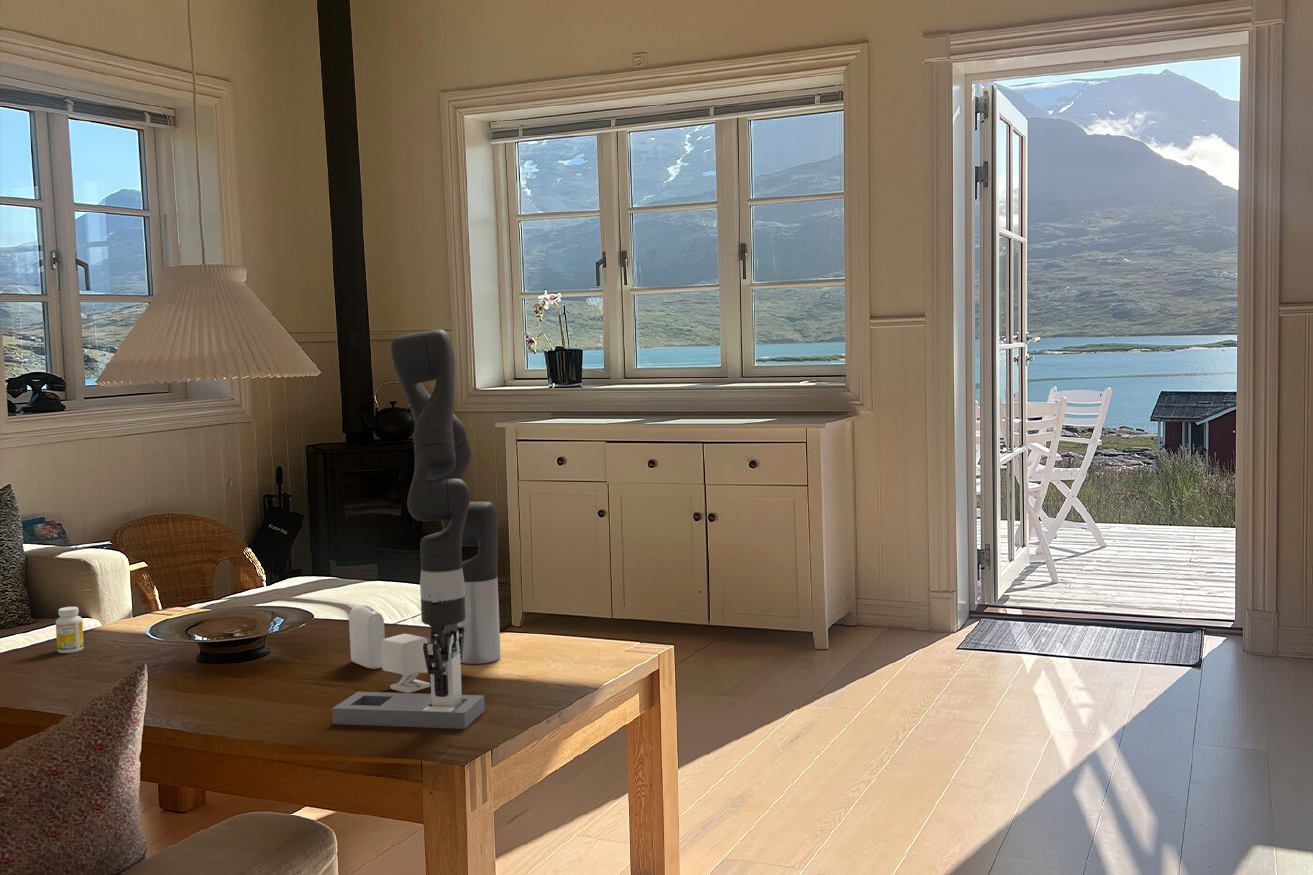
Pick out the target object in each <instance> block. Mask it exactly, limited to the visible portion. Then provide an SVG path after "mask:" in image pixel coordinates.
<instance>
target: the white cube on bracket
mask: <svg viewBox="0 0 1313 875" xmlns="http://www.w3.org/2000/svg"><path fill="white" fill-rule="evenodd" d="M424 643H429V640H428V637H424V636H419V635H413V634H410V633H402V634H397V635H393V636H391V637H386V638H385V639H383V640H382V643H381V645H382V668H381V669H382V671H384V672H389V673H393V674H394V673H395V674H398V675H401V676H402V677H401V678H400V679H399V682H396V683H393V684H390V689H391V690H395V691H397V692H400V693H414V692H416V691H420V690H424V689H427V688H431V682H427V681H424V680H421V679H417V677H418V676H419V674H420V673H421V672H424V671H427V666H426V661H425V656H424V651H423V645H424Z"/></svg>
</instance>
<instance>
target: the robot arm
mask: <svg viewBox="0 0 1313 875" xmlns="http://www.w3.org/2000/svg"><path fill="white" fill-rule="evenodd" d="M453 347H454V346H453V344H452V340H451V338H450V335H449V333H447V331H446V330H444V329H433V330H425V331H419V332H413V333H409V334H402V335H399V336H396V337H395V338H393V339H392V341H391V347H390V354H391V358H392V363H393V366H394V370H395V373H396V375H397V379H398V381H399V383H400V385H401V389H402V392H403V394H404V396H405V398H406V401H407V404H408V407H409V409H410V413H411V415H412V419H413V422H414V428H413V450H414V452H413V453H414V470H413V476H412V480H411V484H410V486H409V491H408V495H407V501H406V503H407V510H408V512H409V514H410V516H411V517H412V518H413V519H414V520H416V521H419V522H431V521H440V522H441V526H442V527H441V528H442V530H441V531H438V532H434V533H431V534H427V535H425V536H423V537H422V538H421V539H420V544H419V545H420V546H419V547H420V548H419V549H420V554H419V555H420V579H419V590H420V593H419V594H420V611H421V612H420V614H421V615H420V618H421V623H423V624H424V625H427V626H429V627H430V634H429V640H428V643H424V645H423V651H424V656H425V661H426V666H427V670H426V671H427V674H428V675H430V674H432V675H434V684H435V695H436V696H437V697H446V696H447V695H448V675H447V673H448V661H450V659H451V652H452V651H458V653H460V661H461V664H467V665H478V664H479V665H480V664H482V665H483V664H488V663H491V662H492V663H493V662H496V661H499V659H500V658H501V636H500V634H501V632H500V631H501V630H500V610H499V608H500V605H499V584H498V582H499V581H498V578H499V577H498V575H499V574H498V565H499V557H498V556H499V553H498V552H499V551H498V549H499V548H498V547H499V546H498V545H499V544H498V542H499V541H498V540H499V537H498V536H499V517H498V510H497V508H496V506H495V504H494V503H492V502H491V501H471V491H470V488H469V486H468V484H467V483H466V482H465V481H464V480H462V479H463V478H464V476H465V474H466V472H467V470H468V468H469V466H470V463H471V459H472V449H471V446H470V445H471V444H470V442H469V439H468V438H469V437H468V434H467V430H466V428H465V425H464V424H463V422H462V421H461V419H459V418H458V416H456V414H454V406H455V405H454V403H455V382H456V359H455V352H454V348H453ZM431 381H435V385H434V389H433V391H432V393H431V394H430V393H429V392H428V390H427V389H426V388H425V386H424V384H423V382H425V383H426V382H431ZM462 547H478V548H477V554H475V556H473V557H471V558H470V559H466V560H464V561H463V556H462V555H463V553H462V549H463V548H462ZM441 654H443V655H445V656H444V657H441ZM442 661H443V663H442Z"/></svg>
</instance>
